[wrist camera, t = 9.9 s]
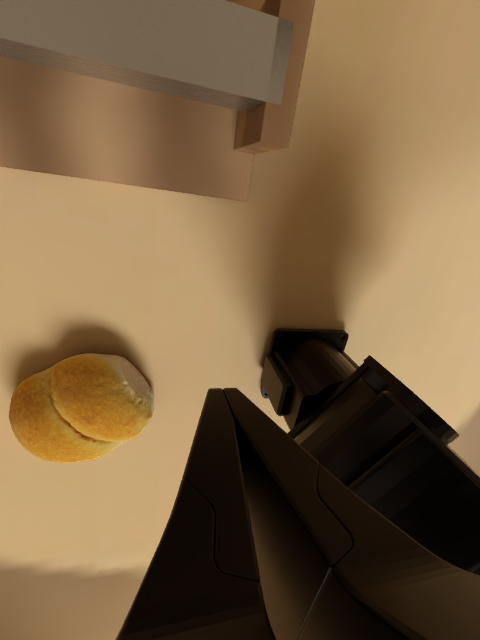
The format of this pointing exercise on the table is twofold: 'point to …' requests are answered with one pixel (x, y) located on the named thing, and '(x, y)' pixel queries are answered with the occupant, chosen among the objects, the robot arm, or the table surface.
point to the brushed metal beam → (156, 46)
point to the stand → (145, 124)
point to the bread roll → (81, 408)
